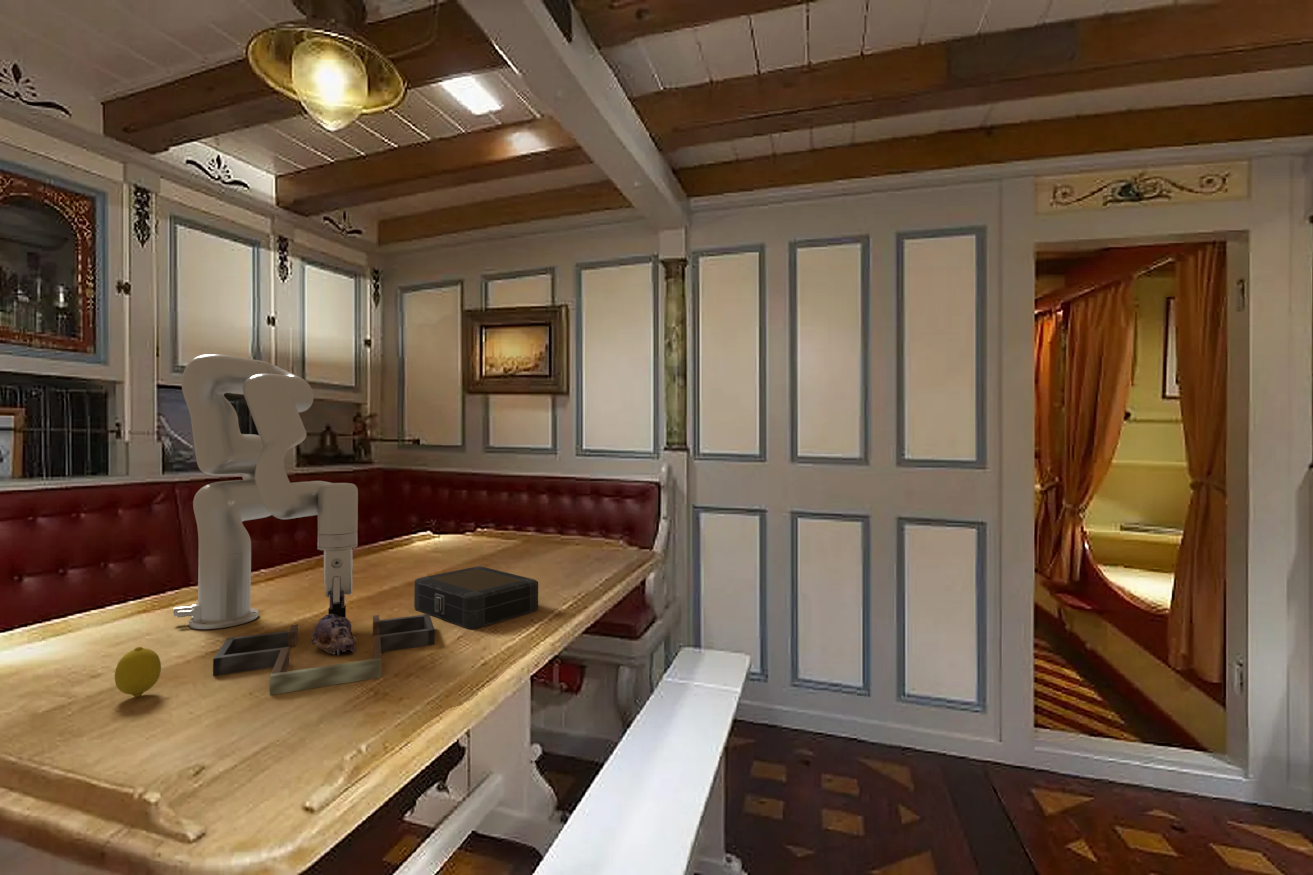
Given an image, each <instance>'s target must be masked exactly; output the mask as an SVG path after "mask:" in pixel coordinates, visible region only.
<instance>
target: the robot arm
mask: <svg viewBox="0 0 1313 875" xmlns="http://www.w3.org/2000/svg"><path fill="white" fill-rule="evenodd" d="M181 377H182V378H181V390H182V395H183V397H184V400H185V403H186V404H185V405H187V410H188V412H189V416H190V420H191V430H192V439H193V445H194V453H195V458H196V459H195V460H196V464H197V467H198V469H199V471H201V472H202V473H203V474H205V475H208V476H215V477H216V476H234V475H237V476H238V475H241V478H242V480H241V479H238V480H237V479H235V480H224V481H216V482H211V483H209V484H205V485H204V486H202V487H200V489H199V490H198V491H197V492H196V493H195V495H194V497H193V500H192V505H193V506H192V507H193V512H194V517H195V518H194V519H195V521H196V522H195V523H196V525H197V536H198V538H197V539H198V573H197V574H198V580H197V585H198V588H197V591H198V592H197V602H196V603H195V604H194V603H193V604H192V605H190V606H185V605H184V606H175V607H174V608H173V613H172V614H173V616H174V617H177V618H184V617H191V618H190V619H189V620H188V626H189V627H190V629H191V628H192V629H194V630H215V629H223V628H230V627H235V626H239V625H244V624H246V623H248V622H249V623H250V622H252V621H254V620H256V619H257V618H258V617H259V610H258V609H257V608H253V607H251V598H252V597H251V587H252V586H251V585H252V584H251V583H252V580H251V579H252V577H251V576H252V571H251V570H252V540H251V536H250V534H249V532H248V530H247V529H246V527H245V526H244V524H243V522H245V521H251V520H257V519H258V520H259V519H263V518H267V517H271V516H272V517H274V518H276V519H280V520H291V519H296V518H303V517H313V516H317V550H319V551H323V578H324V591H325V594H324V595H325V597H326V598H329V607H328V614H327V615H329V614H335V615H337V616H340V617H345V618H347V617H346V616H347V610H346V609H347V606H346V602H345V600H346V599H345V598H346V595H348V596H351V595H352V593H353V574H354V573H353V569H354V566H353V563H354V562H353V549H355V548H357V547H358V528H359V527H358V522H359V521H358V520H359V514H358V513H359V512H358V511H359V509H358V508H359V506H358V505H359V489H358V486H357V485H356V484H354V483H350V482H329V481H323V480H310V481H298V482H297V481H296V482H290V480H289V478H288V474H287V472H286V468H285V457H286V453H287V452H288V451H289V450H290V449H292V448H295V447H296V446H299V445H300V444H301V443H303V441H305V439H306V438H307V431H306V429H305V426H304V422H303V421H302V418H301V417H300V416H301V415H300V413H303V412H306V411H308V410H309V409H310V408H311V406H312V405H313V403H314V391H313V389H312V386H311V385H310V384H309V383H308V382H307V380H305V379H304V378H302V377H300V376H298V375H296V374H294V373H292V372H290V371H287V370H286V369H284V368H282V367H279V366H277V365H275V364H272V363H270V362H269V361H264V360H259V359H253V358H246V357H240V356H234V355H227V354H219V353H218V354H214V353H213V354H212V353H211V354H201V355H198V356H196V357H194V358H193V359H192V360H190V361H189V362H188V364H187V365H186V367H185V368H184V370H183V374H182V376H181ZM225 394H233V395H242V396H244V399H245V401H246V405H247V407H248V410H249V412H250V415H251V417H252V420H253V423H254V425H255V428H256V431H257V433H258V434H255V433H254V434H250V433H248V434H247V433H246V434H245V433H241V429H240V426H239V417H238V416H239V415H238V414H237V411H236V409H235V407H234V406H233V405H232V403H231V402H230V401H229V399H227V398H226V397H225Z"/></svg>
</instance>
